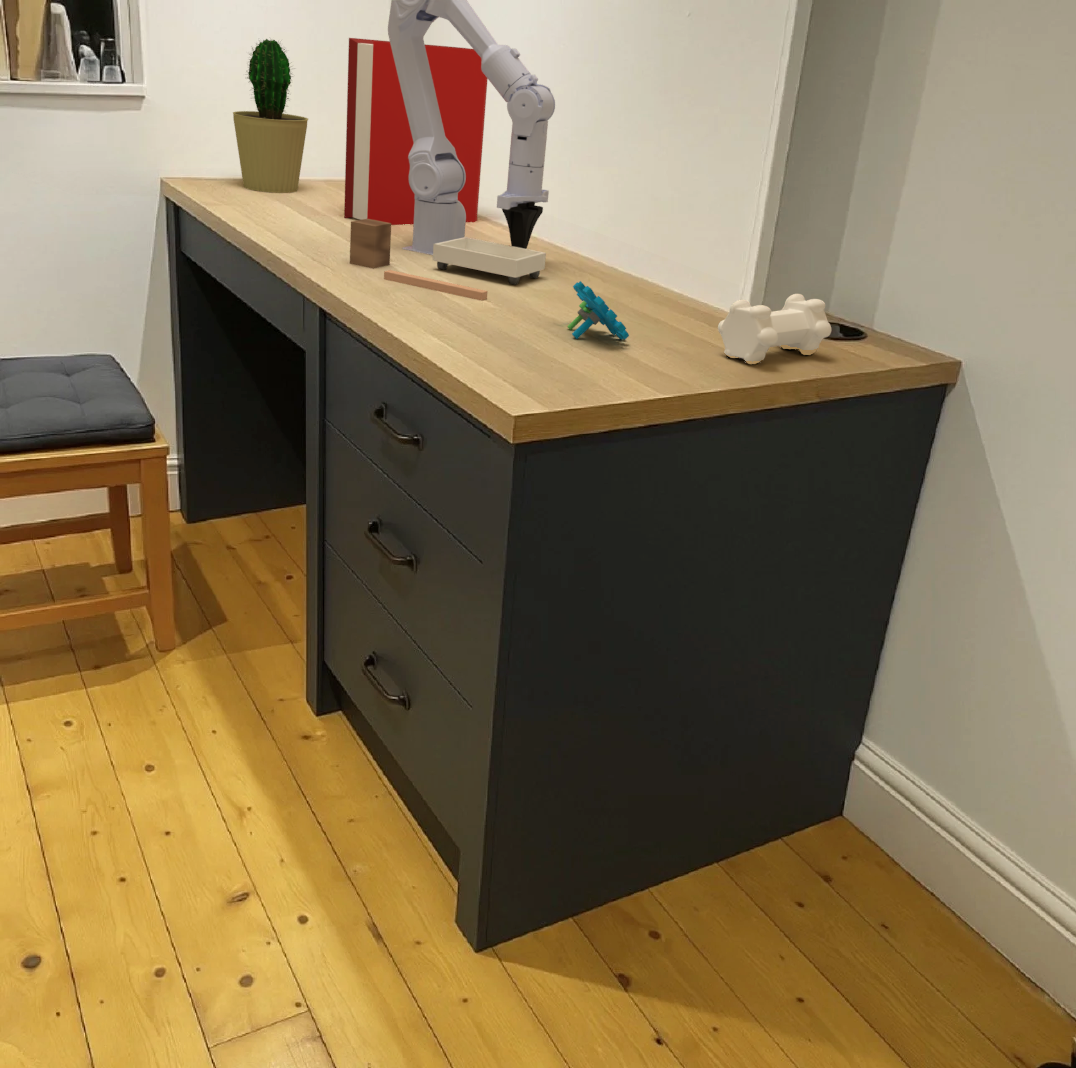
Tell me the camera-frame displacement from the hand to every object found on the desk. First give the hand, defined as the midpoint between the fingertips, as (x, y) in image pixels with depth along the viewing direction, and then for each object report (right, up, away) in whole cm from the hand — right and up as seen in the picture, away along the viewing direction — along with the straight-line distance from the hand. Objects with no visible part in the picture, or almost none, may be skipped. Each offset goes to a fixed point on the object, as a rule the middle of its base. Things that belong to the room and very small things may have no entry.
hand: (518, 249), depth 185 cm
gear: (+11, -21, -35) cm, 43 cm away
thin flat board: (-7, -8, -11) cm, 15 cm away
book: (-21, +15, +35) cm, 43 cm away
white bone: (+35, -24, -35) cm, 55 cm away
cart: (-5, -6, -7) cm, 10 cm away
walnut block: (-24, -5, -9) cm, 26 cm away
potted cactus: (-54, +27, +53) cm, 80 cm away
